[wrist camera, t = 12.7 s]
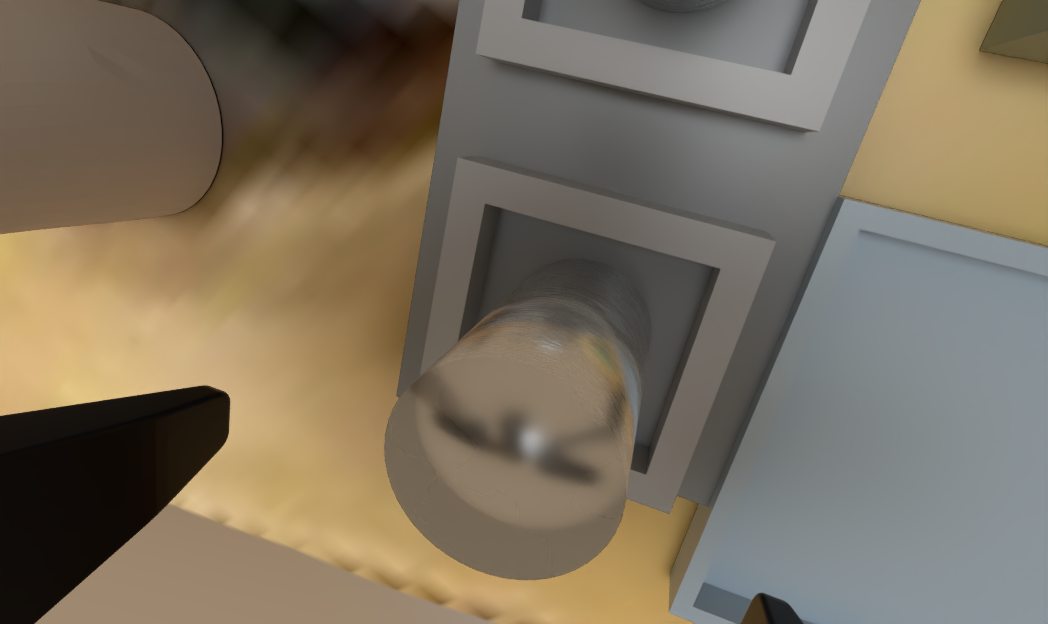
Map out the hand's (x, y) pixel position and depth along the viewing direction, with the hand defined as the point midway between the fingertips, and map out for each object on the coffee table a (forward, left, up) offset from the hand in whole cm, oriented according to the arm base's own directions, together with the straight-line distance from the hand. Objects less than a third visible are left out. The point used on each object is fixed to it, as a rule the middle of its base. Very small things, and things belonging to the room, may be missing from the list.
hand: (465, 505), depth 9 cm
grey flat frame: (0, -6, -10) cm, 12 cm away
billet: (0, 0, -9) cm, 9 cm away
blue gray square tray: (-13, +1, -10) cm, 16 cm away
